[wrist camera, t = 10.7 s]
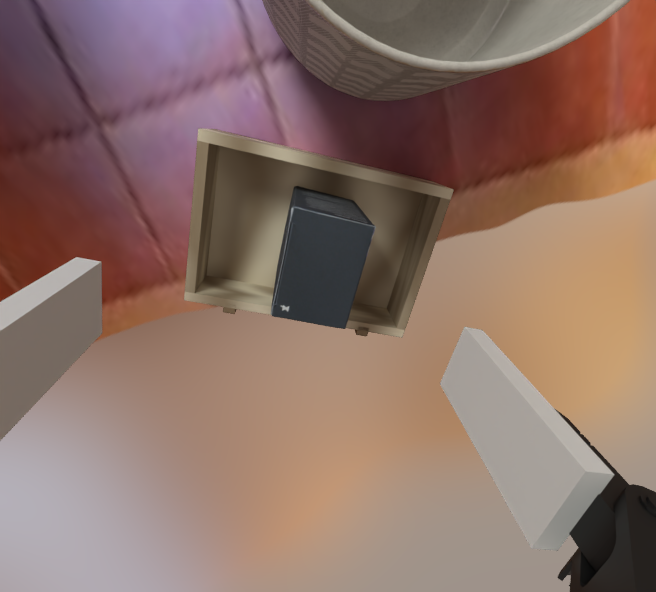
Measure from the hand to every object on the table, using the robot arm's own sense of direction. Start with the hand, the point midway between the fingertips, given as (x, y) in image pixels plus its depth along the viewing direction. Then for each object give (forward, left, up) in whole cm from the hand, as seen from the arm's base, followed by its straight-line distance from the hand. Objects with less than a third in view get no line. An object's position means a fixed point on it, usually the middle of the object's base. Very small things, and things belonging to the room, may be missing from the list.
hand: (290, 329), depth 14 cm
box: (+2, -2, -22) cm, 22 cm away
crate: (+2, -2, -23) cm, 23 cm away
